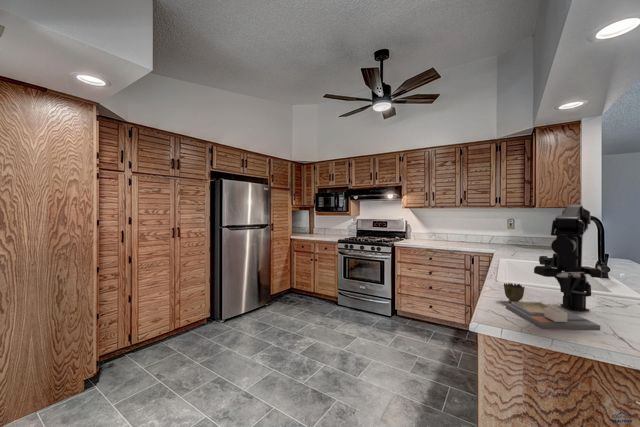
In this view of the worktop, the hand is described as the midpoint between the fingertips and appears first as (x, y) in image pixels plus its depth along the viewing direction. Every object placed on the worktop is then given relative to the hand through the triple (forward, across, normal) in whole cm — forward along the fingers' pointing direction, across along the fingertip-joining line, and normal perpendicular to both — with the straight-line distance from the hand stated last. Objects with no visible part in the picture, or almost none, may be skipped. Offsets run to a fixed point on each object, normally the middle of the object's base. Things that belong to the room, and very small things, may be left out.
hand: (566, 295), depth 97 cm
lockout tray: (+9, +3, -10) cm, 13 cm away
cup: (+11, +4, -22) cm, 24 cm away
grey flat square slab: (+10, +2, -6) cm, 12 cm away
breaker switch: (+9, +4, 0) cm, 9 cm away
